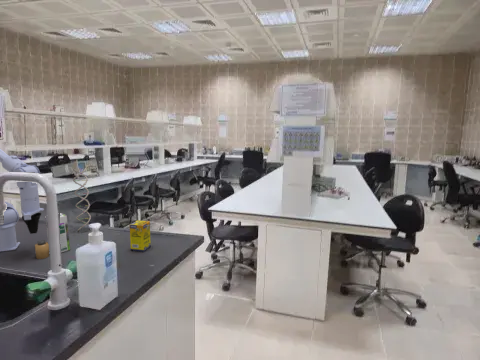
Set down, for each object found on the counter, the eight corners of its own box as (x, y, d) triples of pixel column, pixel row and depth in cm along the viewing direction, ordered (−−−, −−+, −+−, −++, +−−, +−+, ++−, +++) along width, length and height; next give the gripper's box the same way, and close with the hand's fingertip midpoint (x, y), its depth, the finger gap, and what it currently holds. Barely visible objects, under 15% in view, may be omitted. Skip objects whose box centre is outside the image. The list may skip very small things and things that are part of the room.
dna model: (75, 233, 143) (69, 168, 138) (78, 229, 149) (73, 166, 144) (91, 232, 145) (86, 168, 139) (93, 228, 151) (89, 166, 146)
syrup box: (55, 254, 120) (51, 218, 117) (48, 251, 123) (44, 215, 121) (70, 250, 124) (67, 215, 122) (63, 246, 128) (60, 212, 125)
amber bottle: (35, 259, 116) (33, 244, 114) (37, 255, 119) (35, 240, 118) (48, 257, 117) (47, 242, 116) (50, 253, 121) (49, 238, 120)
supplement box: (144, 252, 123) (142, 225, 121) (130, 250, 124) (128, 224, 122) (151, 246, 129) (150, 221, 127) (138, 245, 130) (136, 219, 128)
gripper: (38, 201, 112) (42, 237, 114) (45, 193, 125) (49, 225, 127) (15, 203, 109) (19, 240, 112) (24, 194, 122) (28, 228, 125)
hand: (33, 232), depth 119 cm, fingers closed
